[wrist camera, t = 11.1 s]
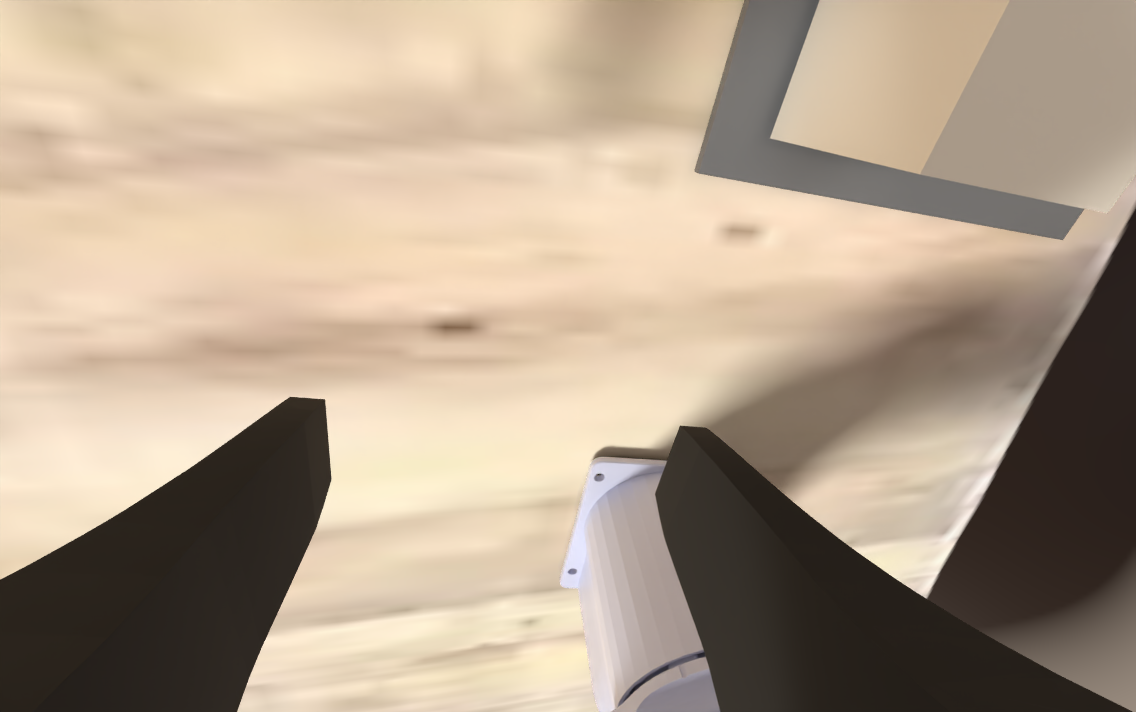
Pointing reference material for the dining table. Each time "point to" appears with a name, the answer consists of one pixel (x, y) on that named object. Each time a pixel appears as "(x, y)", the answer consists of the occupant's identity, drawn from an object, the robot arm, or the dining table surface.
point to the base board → (748, 153)
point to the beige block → (974, 93)
